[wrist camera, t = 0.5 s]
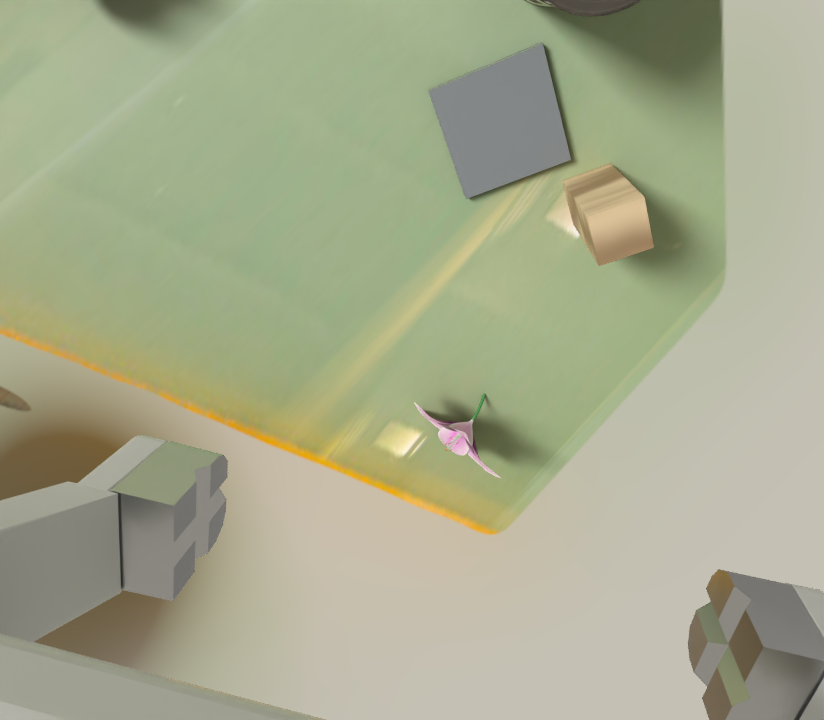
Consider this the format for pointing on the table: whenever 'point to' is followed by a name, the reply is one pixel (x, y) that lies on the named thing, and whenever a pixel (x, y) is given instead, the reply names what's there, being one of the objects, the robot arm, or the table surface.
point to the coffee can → (587, 6)
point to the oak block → (608, 214)
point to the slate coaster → (502, 121)
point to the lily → (459, 436)
